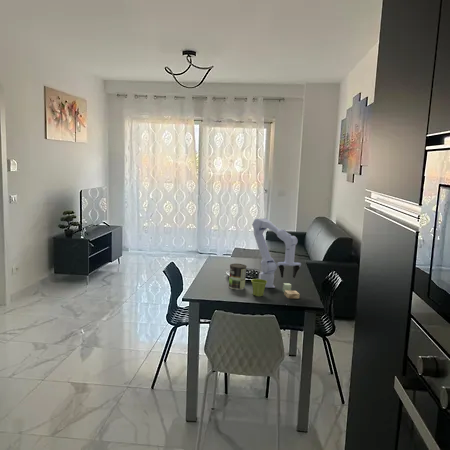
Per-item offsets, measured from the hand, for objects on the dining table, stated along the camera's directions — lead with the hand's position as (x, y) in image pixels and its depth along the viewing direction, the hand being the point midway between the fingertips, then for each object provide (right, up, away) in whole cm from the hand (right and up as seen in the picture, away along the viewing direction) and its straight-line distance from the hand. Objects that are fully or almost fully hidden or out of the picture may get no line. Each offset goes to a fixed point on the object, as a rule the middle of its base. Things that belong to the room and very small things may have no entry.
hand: (287, 277), depth 264 cm
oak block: (+1, -11, -8) cm, 13 cm away
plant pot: (-19, -10, -9) cm, 23 cm away
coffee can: (-31, -7, +4) cm, 32 cm away
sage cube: (-1, -9, +1) cm, 9 cm away
